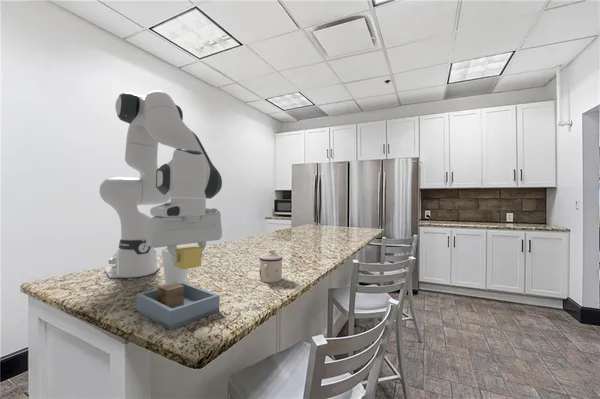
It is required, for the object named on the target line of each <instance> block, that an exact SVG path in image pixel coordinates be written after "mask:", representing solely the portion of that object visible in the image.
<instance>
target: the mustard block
mask: <svg viewBox="0 0 600 399" xmlns="http://www.w3.org/2000/svg"><path fill="white" fill-rule="evenodd" d="M175 252H176V254H177V255H180V262H177V263H174V264H173V266H174V267H177V268H180V269H183V270H184V269H188V270H189V269H194V268H198V267H202V258H201V247H199V246H196V245H186V246H185V245H184V246H177V249H176V250H175Z"/></svg>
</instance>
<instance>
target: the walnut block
mask: <svg viewBox="0 0 600 399" xmlns="http://www.w3.org/2000/svg"><path fill="white" fill-rule="evenodd" d="M157 289H158V302H160V303H162V304H164V305H166V306H168V307H173V306H177V305H180V304H183V303H184V286H183V285H180V284H178V283H171V284H167V285H166V284H162V285H159V286H157Z"/></svg>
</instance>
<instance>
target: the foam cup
mask: <svg viewBox="0 0 600 399" xmlns="http://www.w3.org/2000/svg"><path fill="white" fill-rule="evenodd" d="M171 256H172V255H171V254H170V253H169V251H168V250H167V247H166V248H162V249H161V257H162V265H163V271H164V280H165V285H167V284H171V283H178V284H180V283H184V282H185V283H187V278H188V273H189V272H188V271H189V269H184V270H183V269H180V268H177V267H174V266H173V264H174V263H173V262H172V261H171Z"/></svg>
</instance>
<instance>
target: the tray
mask: <svg viewBox="0 0 600 399" xmlns="http://www.w3.org/2000/svg"><path fill="white" fill-rule="evenodd" d="M180 285H183V286H184V303H183V304H180V305H177V306H173V307H168V306H166V305H164V304H162V303H160V302H158V288H157V289H152V290H148V291H144V292H139V293H136V311H137V312H138V311H139V312H138V313H140V312H141V313H140V314H142V315H144V316H145V315H146V316H145V317H147V316H148V317H147V318H149V319H150V318H151V319H150V320H152V321H154V322H155V321H156V323H157V324H159V325H161V326H163V327H164V328H166V329H168V330H169V331H172V330H174V329H177V328H180V327H182V326H184V325H187V324H189V323H193V322H195V321H198V320H201V319H202V318H203V319H204V318H205V317H208V316H211V315H213V314H214V315H215V314H216V313H219V312H220V296H221V295H220V294H217V293H214V292H211V291H209V290H206V289H204V288H201V287H198V286H196V285H193V284H190V283H187V282H186V283H185V282H184V283H180Z"/></svg>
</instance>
